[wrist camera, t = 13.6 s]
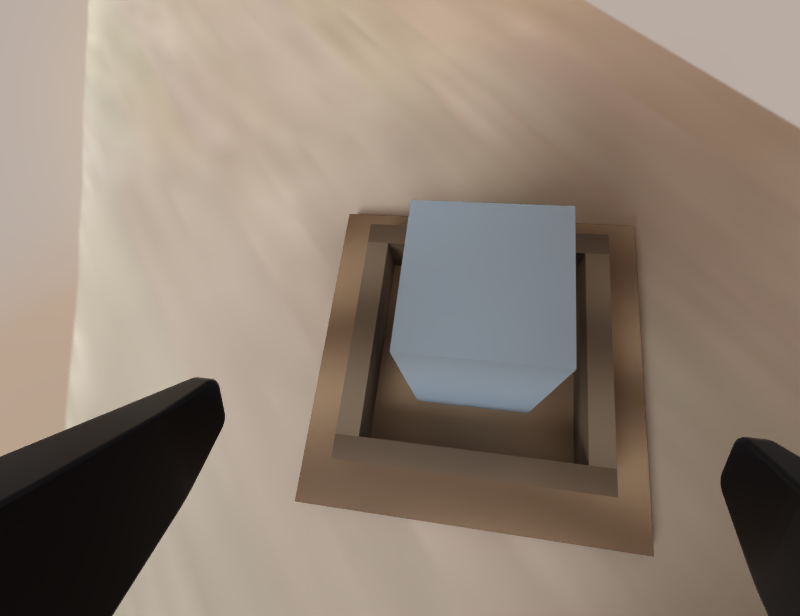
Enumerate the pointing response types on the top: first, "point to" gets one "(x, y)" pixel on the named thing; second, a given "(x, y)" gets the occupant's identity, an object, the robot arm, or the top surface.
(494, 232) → the block
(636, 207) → the top surface
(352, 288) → the cradle
